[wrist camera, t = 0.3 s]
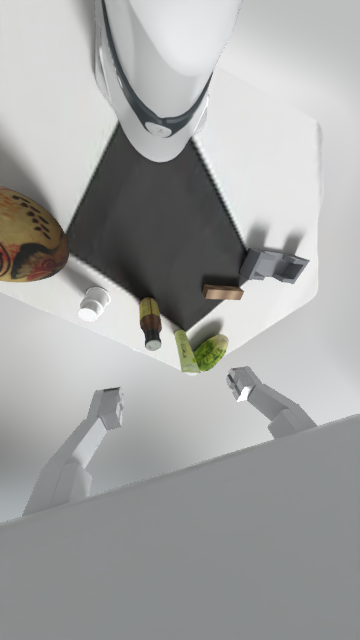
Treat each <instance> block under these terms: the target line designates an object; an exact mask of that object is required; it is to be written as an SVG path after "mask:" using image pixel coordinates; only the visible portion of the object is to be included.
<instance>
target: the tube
mask: <svg viewBox="0 0 360 640" xmlns="http://www.w3.org/2000/svg"><path fill="white" fill-rule="evenodd" d="M174 335H175V339H176V343H177V348H178V353H179V358H180V363H181V370H182V372H190V373H200V370H199V367H198V365H197V363H196V360H195V357H194V355H193V352H192V349H191V347H190V344H189V341H188V339H187V336H186V333H185V331H184V330H178V331H176V332H175V334H174Z"/></svg>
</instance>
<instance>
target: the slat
mask: <svg viewBox="0 0 360 640" xmlns="http://www.w3.org/2000/svg"><path fill="white" fill-rule="evenodd" d="M243 293H244V291H243V290H242V289H241V288H239V287H233V286H218V285H204V288H203V292H202V294H203V296H204V297H205V299H228V300H240V299H241V297H242V295H243Z"/></svg>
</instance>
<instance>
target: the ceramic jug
mask: <svg viewBox="0 0 360 640" xmlns="http://www.w3.org/2000/svg"><path fill="white" fill-rule="evenodd" d="M68 257H69V245H68V241H67V238H66V235H65V233H64V231H63V229H62V228H61V226H60V225H59V223H58V222H57V221H56V219H55V218H54V217H53V216H52V215H51V214H50V213H49V212H48V211H47V210H45V209H44V208H43V207H41V206H40V205H39V204H37V203H36V202H34V201H33V200H31V199H29V198H27V197H26V196H24V195H22V194H20V193H18V192H15V191H13V190H10V189H8V188H6V187H1V186H0V281H6V282H31V281H37V280H41V279H45V278H49V277H51V276H53V275H55V274H56V273H58V272H59V271H60V270H61V269H62V268H63V267H64V266H65V264H66V263H67V260H68Z"/></svg>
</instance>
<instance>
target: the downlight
mask: <svg viewBox="0 0 360 640" xmlns="http://www.w3.org/2000/svg"><path fill="white" fill-rule="evenodd" d="M109 302H110V295H109V293H108V292H107V291H106V290H104V289H102V288H100V287H91V288H89V289H88V290H87V291H86V297H85V298H84V299H83V301H82V302H81V304H80V307H81V308H80V310H79V311H78V316H79V317H80V318H81V319H82V320H84V321H87V322H93V321H96V320H97V318H98V316H99V315H101V314H102V313H103V311H104V308H105V306H106V305H108V304H109Z"/></svg>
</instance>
